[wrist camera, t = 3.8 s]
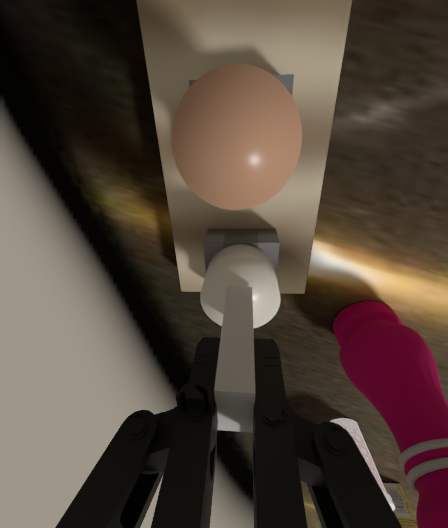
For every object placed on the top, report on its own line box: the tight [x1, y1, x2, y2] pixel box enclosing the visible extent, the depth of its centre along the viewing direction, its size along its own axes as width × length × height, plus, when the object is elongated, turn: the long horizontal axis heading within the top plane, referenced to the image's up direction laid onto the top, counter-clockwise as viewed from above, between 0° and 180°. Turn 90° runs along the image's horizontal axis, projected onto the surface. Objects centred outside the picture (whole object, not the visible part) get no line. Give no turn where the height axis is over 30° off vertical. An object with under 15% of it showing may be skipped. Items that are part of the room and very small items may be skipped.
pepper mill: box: [333, 301, 448, 528], centre depth 17 cm, size 7×7×20 cm
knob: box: [200, 244, 280, 329], centre depth 17 cm, size 5×5×5 cm
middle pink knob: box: [172, 64, 302, 210], centre depth 10 cm, size 4×4×6 cm
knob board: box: [136, 0, 352, 294], centre depth 16 cm, size 25×11×6 cm, turn 2°
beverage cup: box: [329, 418, 395, 511], centre depth 30 cm, size 6×6×14 cm
